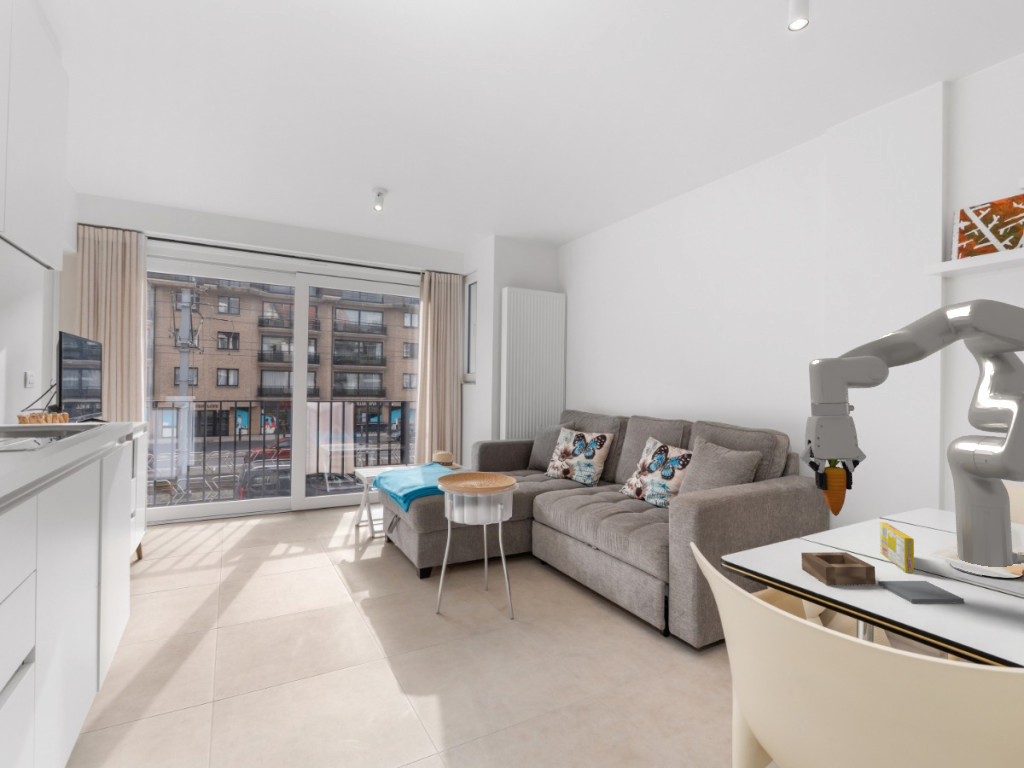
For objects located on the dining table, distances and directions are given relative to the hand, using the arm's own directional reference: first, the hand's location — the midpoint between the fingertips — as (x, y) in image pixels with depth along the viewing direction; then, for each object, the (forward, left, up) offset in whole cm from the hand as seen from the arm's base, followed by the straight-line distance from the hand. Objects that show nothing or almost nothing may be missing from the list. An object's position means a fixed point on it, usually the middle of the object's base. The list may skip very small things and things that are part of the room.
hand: (834, 488), depth 117 cm
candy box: (-20, -10, -21) cm, 30 cm away
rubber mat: (-11, +10, -20) cm, 25 cm away
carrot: (0, 0, -7) cm, 7 cm away
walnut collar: (0, 0, -20) cm, 20 cm away
